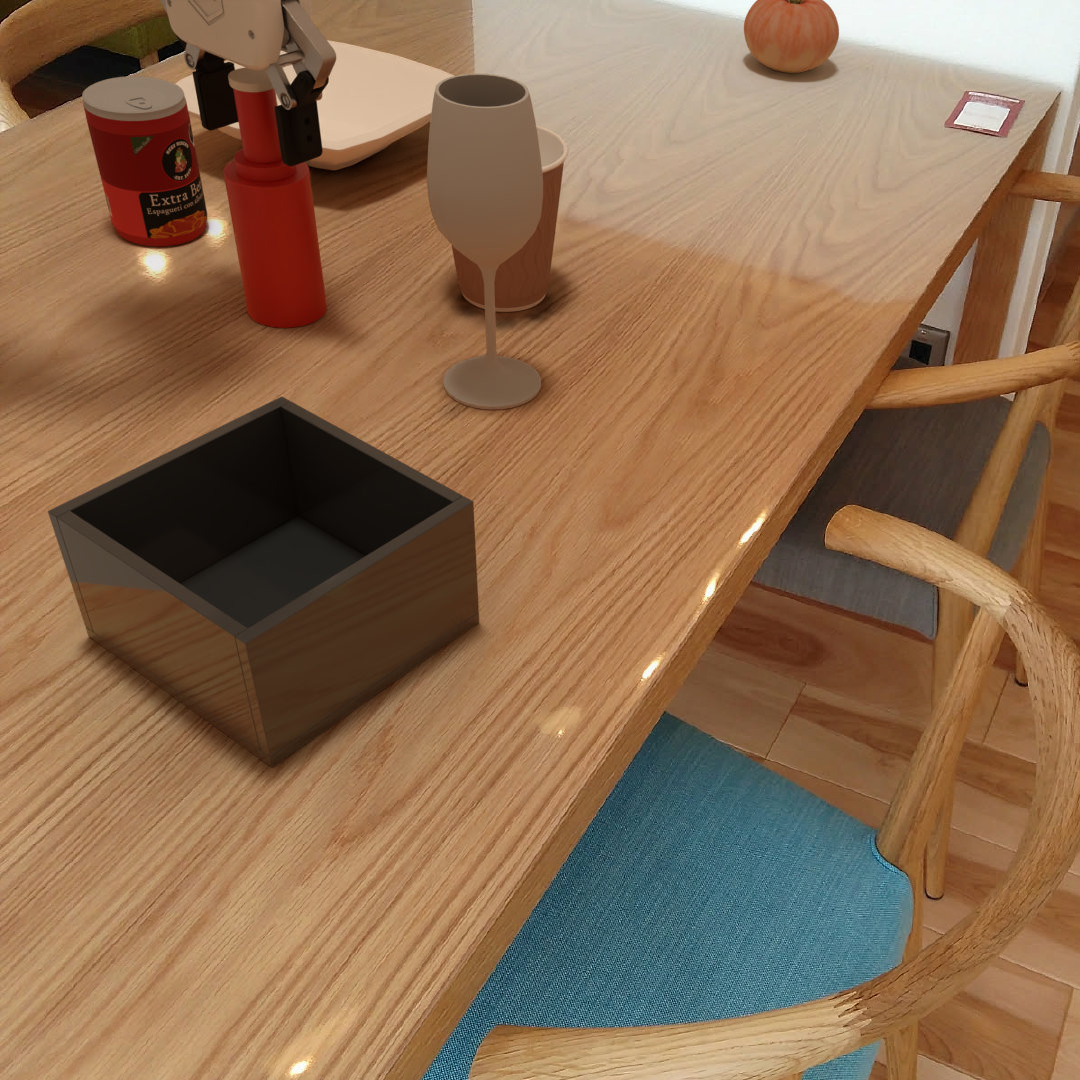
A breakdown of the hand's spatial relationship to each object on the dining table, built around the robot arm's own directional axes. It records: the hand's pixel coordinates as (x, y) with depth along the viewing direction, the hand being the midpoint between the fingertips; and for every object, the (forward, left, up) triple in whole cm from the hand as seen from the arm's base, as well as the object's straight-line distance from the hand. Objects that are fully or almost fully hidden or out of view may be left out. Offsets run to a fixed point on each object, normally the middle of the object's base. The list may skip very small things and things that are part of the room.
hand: (262, 141), depth 93 cm
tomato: (-4, +77, -13) cm, 78 cm away
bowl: (-21, +23, -13) cm, 34 cm away
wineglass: (+19, +3, -13) cm, 23 cm away
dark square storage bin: (+29, -25, -13) cm, 40 cm away
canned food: (-18, +2, -13) cm, 22 cm away
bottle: (0, 0, -13) cm, 13 cm away
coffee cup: (+10, +14, -13) cm, 22 cm away
